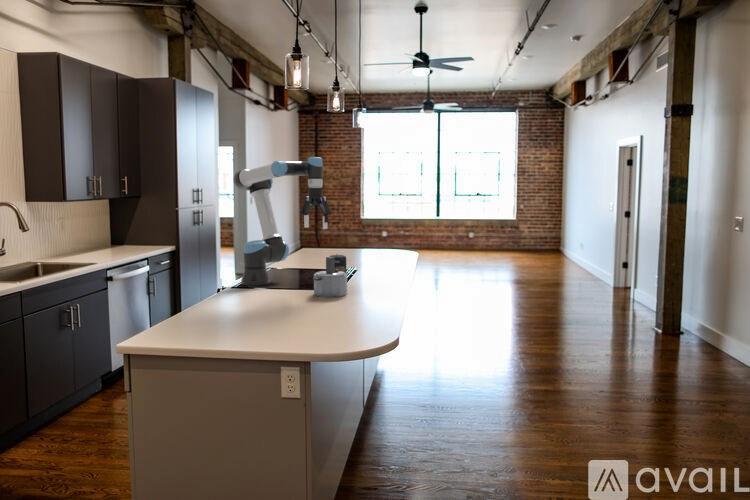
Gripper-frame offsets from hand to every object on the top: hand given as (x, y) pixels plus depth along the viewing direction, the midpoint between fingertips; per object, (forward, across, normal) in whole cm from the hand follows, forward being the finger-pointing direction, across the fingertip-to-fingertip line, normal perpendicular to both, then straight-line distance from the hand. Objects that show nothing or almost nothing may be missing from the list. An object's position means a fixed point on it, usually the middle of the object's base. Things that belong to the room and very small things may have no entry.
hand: (315, 228), depth 315 cm
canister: (+32, +7, +9) cm, 34 cm away
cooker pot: (+32, +17, -7) cm, 37 cm away
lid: (+24, +17, -7) cm, 30 cm away
